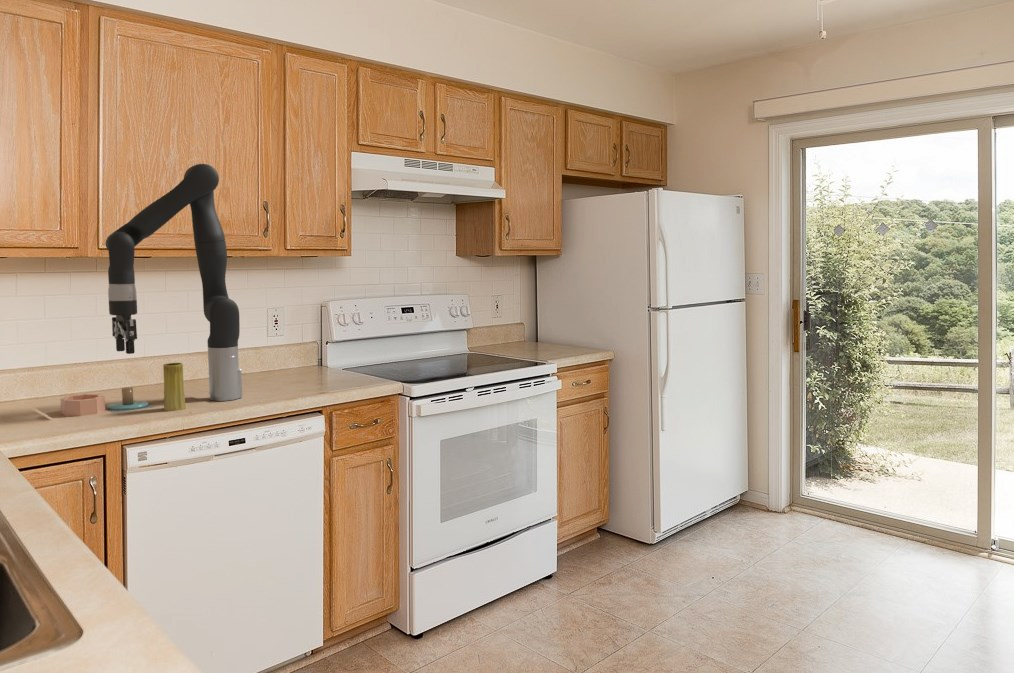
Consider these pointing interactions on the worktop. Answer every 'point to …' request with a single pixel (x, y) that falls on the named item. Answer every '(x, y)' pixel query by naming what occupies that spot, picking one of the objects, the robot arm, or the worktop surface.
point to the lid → (127, 401)
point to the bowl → (82, 404)
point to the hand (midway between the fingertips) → (125, 352)
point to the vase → (173, 387)
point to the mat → (127, 410)
